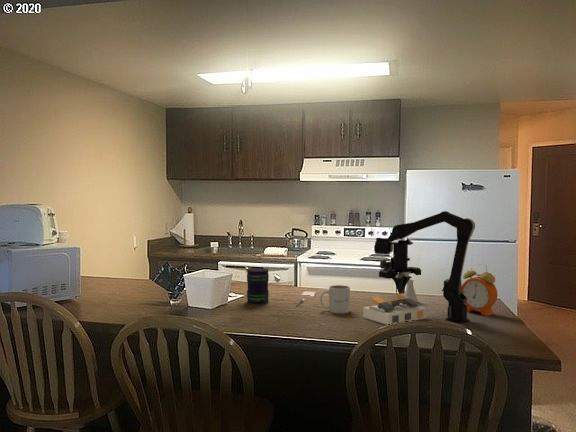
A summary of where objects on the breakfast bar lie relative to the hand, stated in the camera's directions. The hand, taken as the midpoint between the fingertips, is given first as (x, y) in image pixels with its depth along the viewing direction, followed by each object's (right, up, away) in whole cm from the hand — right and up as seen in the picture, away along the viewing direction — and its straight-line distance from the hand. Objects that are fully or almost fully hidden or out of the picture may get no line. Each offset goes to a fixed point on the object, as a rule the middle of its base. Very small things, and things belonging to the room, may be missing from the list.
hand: (400, 293), depth 193 cm
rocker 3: (+2, -4, -2) cm, 5 cm away
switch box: (-4, -9, -6) cm, 11 cm away
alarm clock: (+33, -9, +3) cm, 34 cm away
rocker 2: (-3, -4, -7) cm, 8 cm away
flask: (+10, -8, +24) cm, 27 cm away
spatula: (-38, -8, +28) cm, 48 cm away
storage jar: (-59, -8, +22) cm, 64 cm away
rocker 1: (-9, -4, -9) cm, 14 cm away
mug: (-26, -8, +6) cm, 28 cm away
